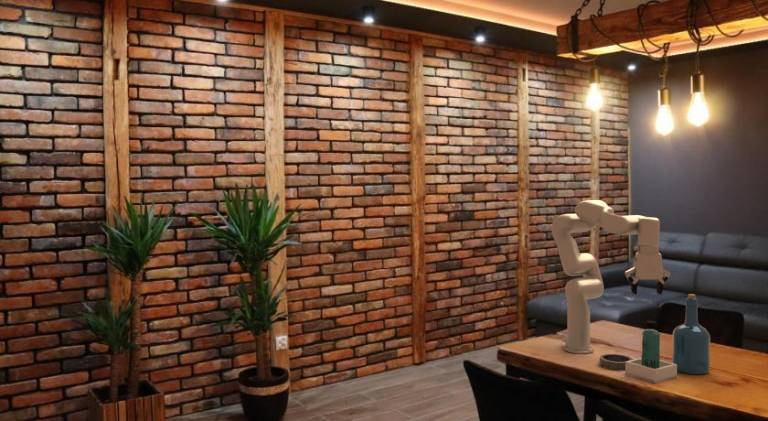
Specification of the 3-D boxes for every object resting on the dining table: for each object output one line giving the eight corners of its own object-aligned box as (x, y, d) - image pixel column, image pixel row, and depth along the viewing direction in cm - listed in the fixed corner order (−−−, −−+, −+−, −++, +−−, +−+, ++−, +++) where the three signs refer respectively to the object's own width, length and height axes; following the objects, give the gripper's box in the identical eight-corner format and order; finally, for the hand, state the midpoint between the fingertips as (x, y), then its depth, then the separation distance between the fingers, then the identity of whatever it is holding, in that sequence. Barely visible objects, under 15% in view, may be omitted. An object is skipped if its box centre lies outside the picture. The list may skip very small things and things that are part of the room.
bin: (625, 374, 249) (625, 361, 248) (647, 368, 255) (647, 356, 255) (655, 383, 238) (655, 370, 237) (676, 377, 244) (677, 364, 244)
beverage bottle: (647, 369, 251) (648, 318, 250) (663, 373, 246) (664, 321, 245) (637, 372, 248) (638, 321, 246) (653, 376, 242) (654, 324, 241)
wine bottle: (707, 377, 244) (709, 299, 242) (669, 372, 251) (670, 295, 249) (711, 368, 255) (712, 293, 254) (674, 363, 262) (676, 290, 261)
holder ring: (593, 364, 262) (593, 356, 262) (613, 359, 269) (613, 352, 268) (618, 372, 252) (618, 364, 251) (639, 366, 258) (639, 359, 258)
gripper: (629, 251, 244) (628, 295, 245) (675, 251, 244) (673, 295, 245) (622, 248, 251) (620, 291, 253) (666, 248, 252) (664, 291, 253)
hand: (646, 293), depth 249 cm, fingers open, 9 cm apart
